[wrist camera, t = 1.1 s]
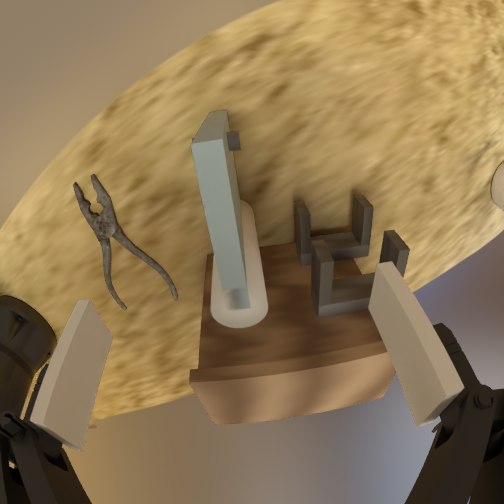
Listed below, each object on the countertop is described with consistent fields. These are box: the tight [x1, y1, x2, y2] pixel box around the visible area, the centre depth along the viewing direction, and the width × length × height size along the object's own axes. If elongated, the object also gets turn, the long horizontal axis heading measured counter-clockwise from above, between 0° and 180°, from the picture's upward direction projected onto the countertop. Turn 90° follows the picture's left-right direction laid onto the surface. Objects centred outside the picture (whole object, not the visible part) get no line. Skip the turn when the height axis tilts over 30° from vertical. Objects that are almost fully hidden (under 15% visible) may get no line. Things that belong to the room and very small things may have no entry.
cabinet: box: [189, 195, 410, 425], centre depth 28 cm, size 18×14×17 cm
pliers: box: [73, 174, 178, 310], centre depth 33 cm, size 10×1×20 cm
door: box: [191, 110, 268, 328], centre depth 23 cm, size 4×14×14 cm, turn 7°
